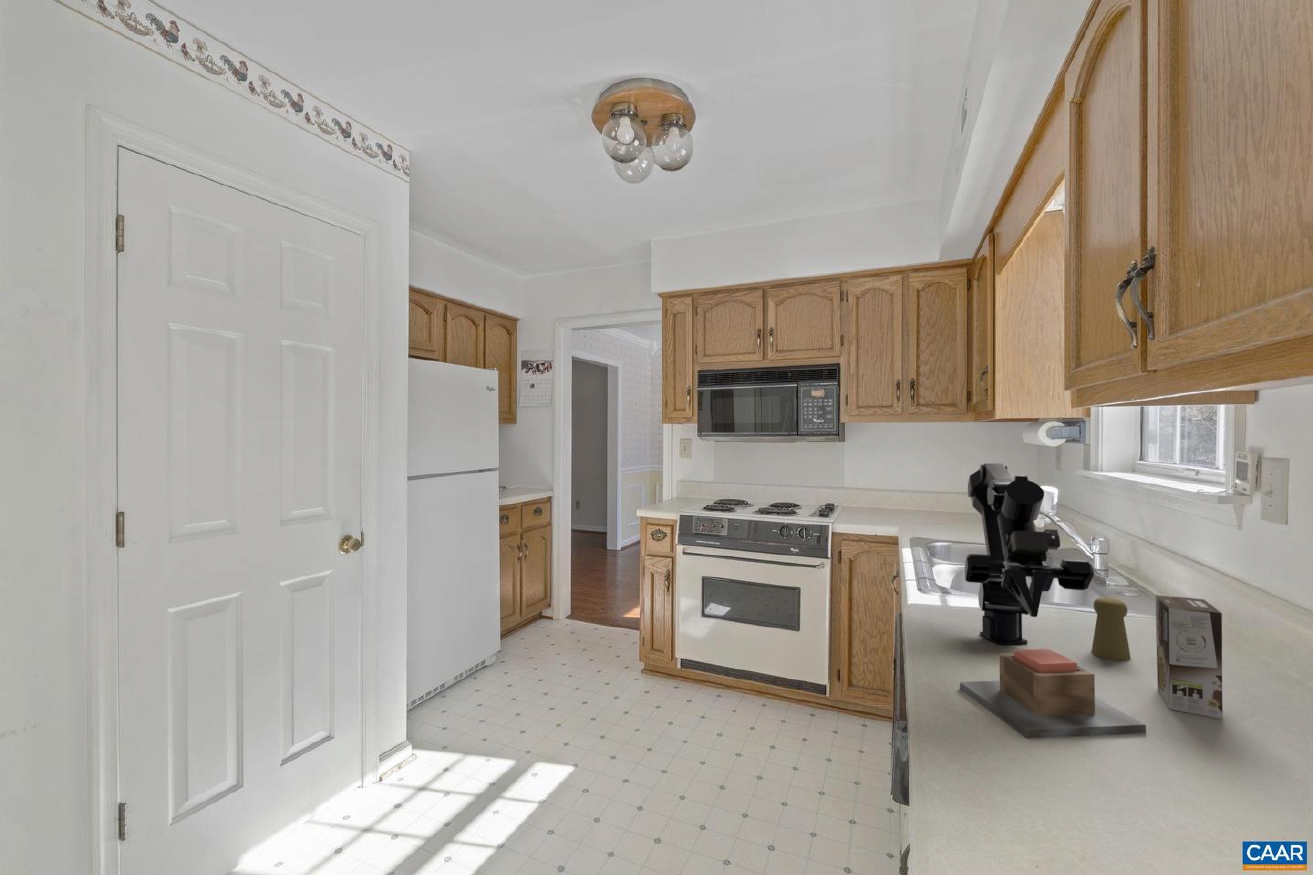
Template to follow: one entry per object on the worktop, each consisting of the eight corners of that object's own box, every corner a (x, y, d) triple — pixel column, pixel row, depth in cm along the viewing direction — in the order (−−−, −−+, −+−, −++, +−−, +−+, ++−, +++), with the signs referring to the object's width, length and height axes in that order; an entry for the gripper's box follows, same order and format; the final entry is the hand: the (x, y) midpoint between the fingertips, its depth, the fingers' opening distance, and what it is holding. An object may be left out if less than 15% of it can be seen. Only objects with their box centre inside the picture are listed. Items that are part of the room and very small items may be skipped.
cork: (1095, 657, 110) (1094, 600, 110) (1088, 647, 115) (1087, 593, 115) (1134, 662, 107) (1134, 604, 107) (1126, 652, 112) (1125, 596, 113)
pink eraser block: (1048, 685, 93) (1048, 648, 93) (1077, 701, 87) (1076, 662, 87) (1014, 686, 92) (1014, 649, 92) (1041, 703, 86) (1040, 663, 86)
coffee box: (1225, 720, 85) (1223, 613, 85) (1168, 709, 89) (1167, 606, 89) (1207, 696, 93) (1206, 598, 93) (1155, 687, 97) (1154, 593, 97)
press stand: (1060, 685, 98) (1060, 643, 98) (1146, 732, 82) (1145, 683, 82) (960, 689, 97) (959, 646, 97) (1026, 738, 81) (1026, 687, 81)
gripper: (966, 509, 103) (976, 586, 93) (1090, 513, 96) (1115, 597, 86) (960, 544, 111) (969, 618, 101) (1075, 549, 104) (1097, 630, 94)
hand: (1034, 615), depth 95 cm, fingers closed
